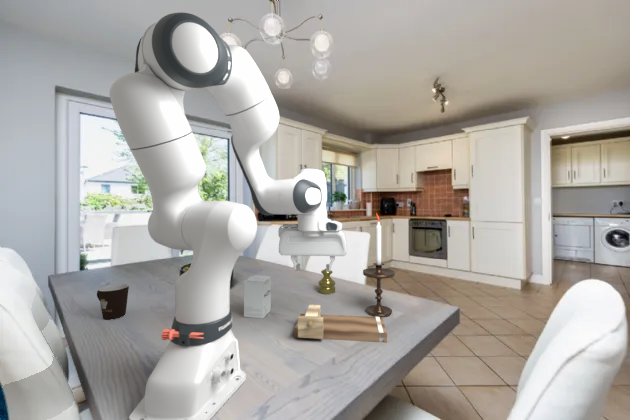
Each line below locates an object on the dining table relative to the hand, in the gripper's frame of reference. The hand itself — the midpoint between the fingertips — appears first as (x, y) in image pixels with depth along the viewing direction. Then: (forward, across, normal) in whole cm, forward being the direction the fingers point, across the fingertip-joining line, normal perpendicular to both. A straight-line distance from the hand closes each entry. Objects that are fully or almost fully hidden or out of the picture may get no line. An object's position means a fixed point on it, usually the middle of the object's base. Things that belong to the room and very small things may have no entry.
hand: (313, 270), depth 83 cm
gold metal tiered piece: (+19, +1, +38) cm, 43 cm away
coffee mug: (+18, -71, +5) cm, 74 cm away
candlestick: (+19, +21, +17) cm, 33 cm away
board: (+18, +8, +1) cm, 20 cm away
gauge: (+17, 0, -2) cm, 17 cm away
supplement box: (+19, -21, +11) cm, 30 cm away
